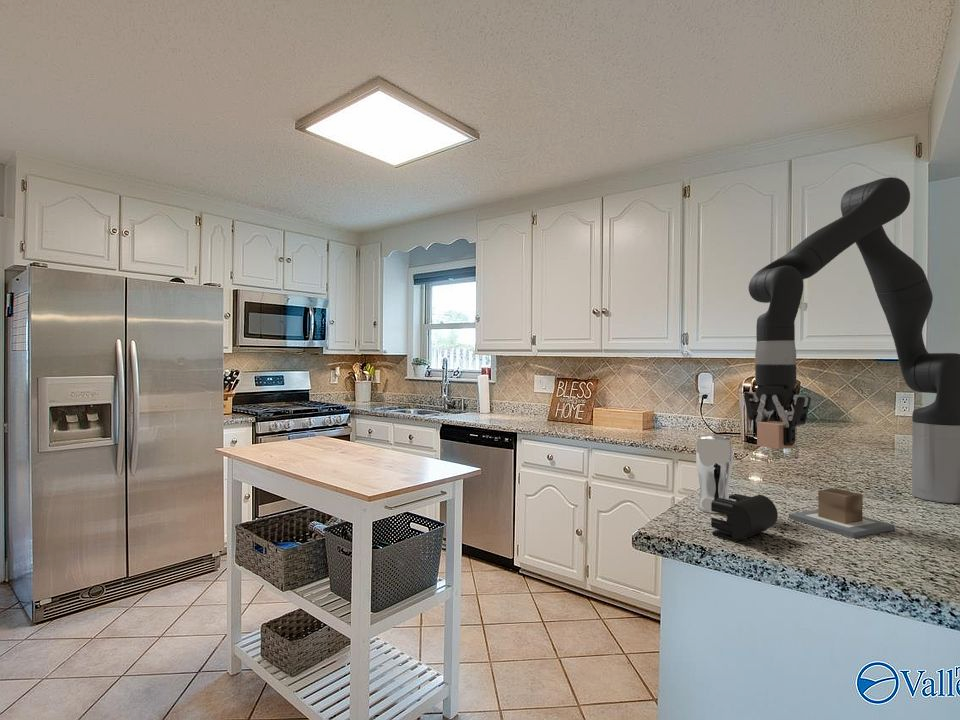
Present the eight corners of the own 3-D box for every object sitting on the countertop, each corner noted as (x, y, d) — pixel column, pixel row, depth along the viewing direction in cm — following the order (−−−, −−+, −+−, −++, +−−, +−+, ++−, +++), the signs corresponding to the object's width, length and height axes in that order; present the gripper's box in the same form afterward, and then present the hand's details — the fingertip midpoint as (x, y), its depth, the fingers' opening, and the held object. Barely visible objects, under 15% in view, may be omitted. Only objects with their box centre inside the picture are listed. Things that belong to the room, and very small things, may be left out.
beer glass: (736, 515, 103) (737, 440, 103) (699, 513, 104) (700, 439, 105) (727, 506, 110) (727, 435, 110) (692, 504, 111) (693, 434, 111)
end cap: (750, 547, 85) (750, 506, 85) (709, 535, 91) (709, 497, 91) (778, 536, 91) (778, 497, 91) (738, 525, 97) (738, 489, 97)
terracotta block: (773, 444, 112) (773, 421, 112) (795, 447, 107) (795, 423, 107) (757, 445, 110) (756, 422, 110) (778, 449, 105) (778, 424, 105)
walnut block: (835, 513, 102) (835, 488, 102) (862, 521, 97) (862, 494, 97) (818, 516, 100) (818, 490, 100) (845, 524, 95) (845, 496, 95)
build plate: (828, 512, 106) (828, 507, 106) (894, 529, 95) (894, 524, 95) (788, 518, 101) (788, 513, 101) (853, 537, 90) (853, 532, 90)
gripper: (821, 362, 104) (821, 447, 104) (758, 362, 117) (758, 437, 117) (795, 362, 101) (796, 450, 101) (733, 362, 114) (734, 439, 114)
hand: (775, 443), depth 109 cm, fingers closed on terracotta block, 5 cm apart
